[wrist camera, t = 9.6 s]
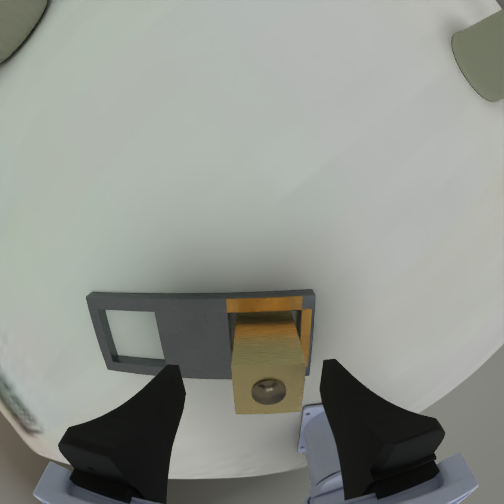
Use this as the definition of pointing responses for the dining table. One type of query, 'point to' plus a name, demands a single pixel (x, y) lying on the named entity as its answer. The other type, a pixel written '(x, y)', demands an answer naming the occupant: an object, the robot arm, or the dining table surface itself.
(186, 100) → the dining table surface
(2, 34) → the canister
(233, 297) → the grey frame plate
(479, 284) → the dining table surface
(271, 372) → the block
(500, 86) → the can
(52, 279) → the dining table surface
